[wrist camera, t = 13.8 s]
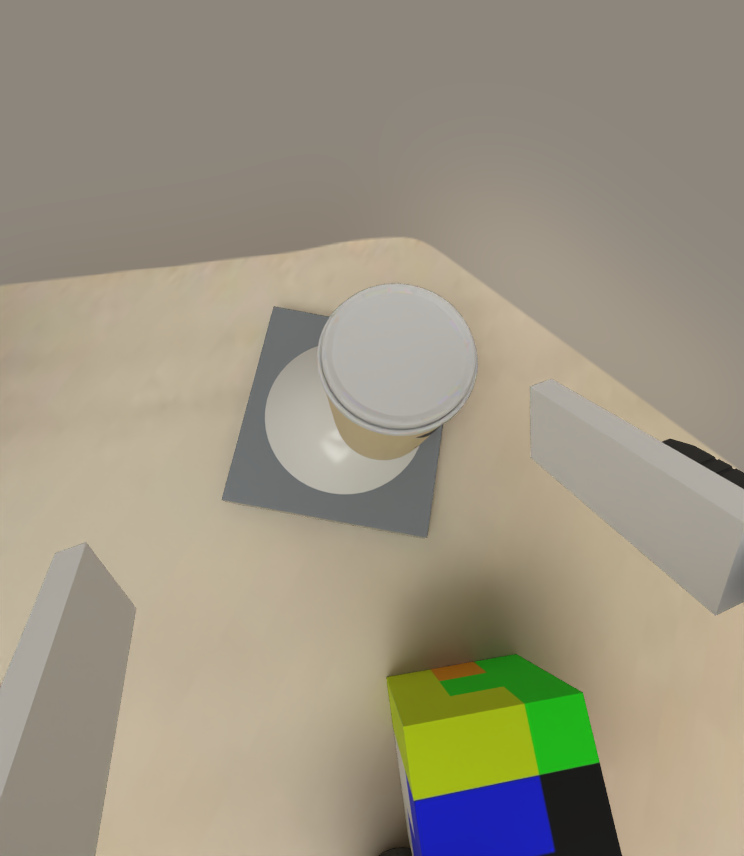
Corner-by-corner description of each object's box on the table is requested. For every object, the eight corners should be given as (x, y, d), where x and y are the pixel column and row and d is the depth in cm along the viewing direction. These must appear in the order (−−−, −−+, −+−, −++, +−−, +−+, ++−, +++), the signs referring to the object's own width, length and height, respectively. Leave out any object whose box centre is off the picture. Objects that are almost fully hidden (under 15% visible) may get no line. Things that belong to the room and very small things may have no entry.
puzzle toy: (408, 838, 31) (437, 967, 21) (386, 676, 33) (403, 726, 24) (548, 808, 32) (637, 919, 22) (515, 653, 34) (582, 692, 25)
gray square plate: (226, 502, 36) (220, 499, 34) (276, 315, 41) (273, 305, 39) (423, 538, 36) (427, 537, 34) (450, 348, 41) (455, 339, 39)
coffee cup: (429, 482, 36) (470, 446, 24) (312, 458, 35) (298, 411, 24) (446, 374, 38) (491, 296, 27) (338, 352, 38) (336, 263, 27)
